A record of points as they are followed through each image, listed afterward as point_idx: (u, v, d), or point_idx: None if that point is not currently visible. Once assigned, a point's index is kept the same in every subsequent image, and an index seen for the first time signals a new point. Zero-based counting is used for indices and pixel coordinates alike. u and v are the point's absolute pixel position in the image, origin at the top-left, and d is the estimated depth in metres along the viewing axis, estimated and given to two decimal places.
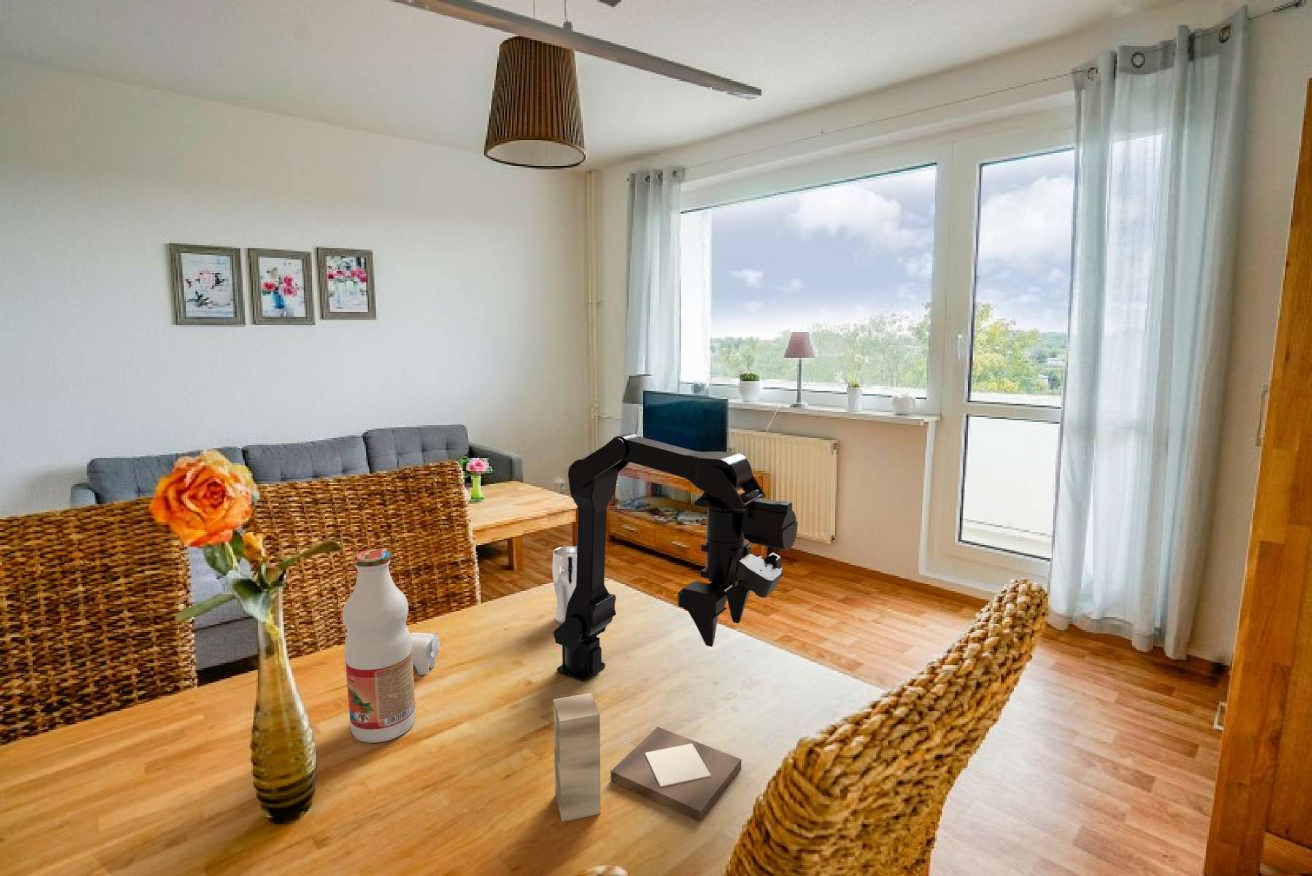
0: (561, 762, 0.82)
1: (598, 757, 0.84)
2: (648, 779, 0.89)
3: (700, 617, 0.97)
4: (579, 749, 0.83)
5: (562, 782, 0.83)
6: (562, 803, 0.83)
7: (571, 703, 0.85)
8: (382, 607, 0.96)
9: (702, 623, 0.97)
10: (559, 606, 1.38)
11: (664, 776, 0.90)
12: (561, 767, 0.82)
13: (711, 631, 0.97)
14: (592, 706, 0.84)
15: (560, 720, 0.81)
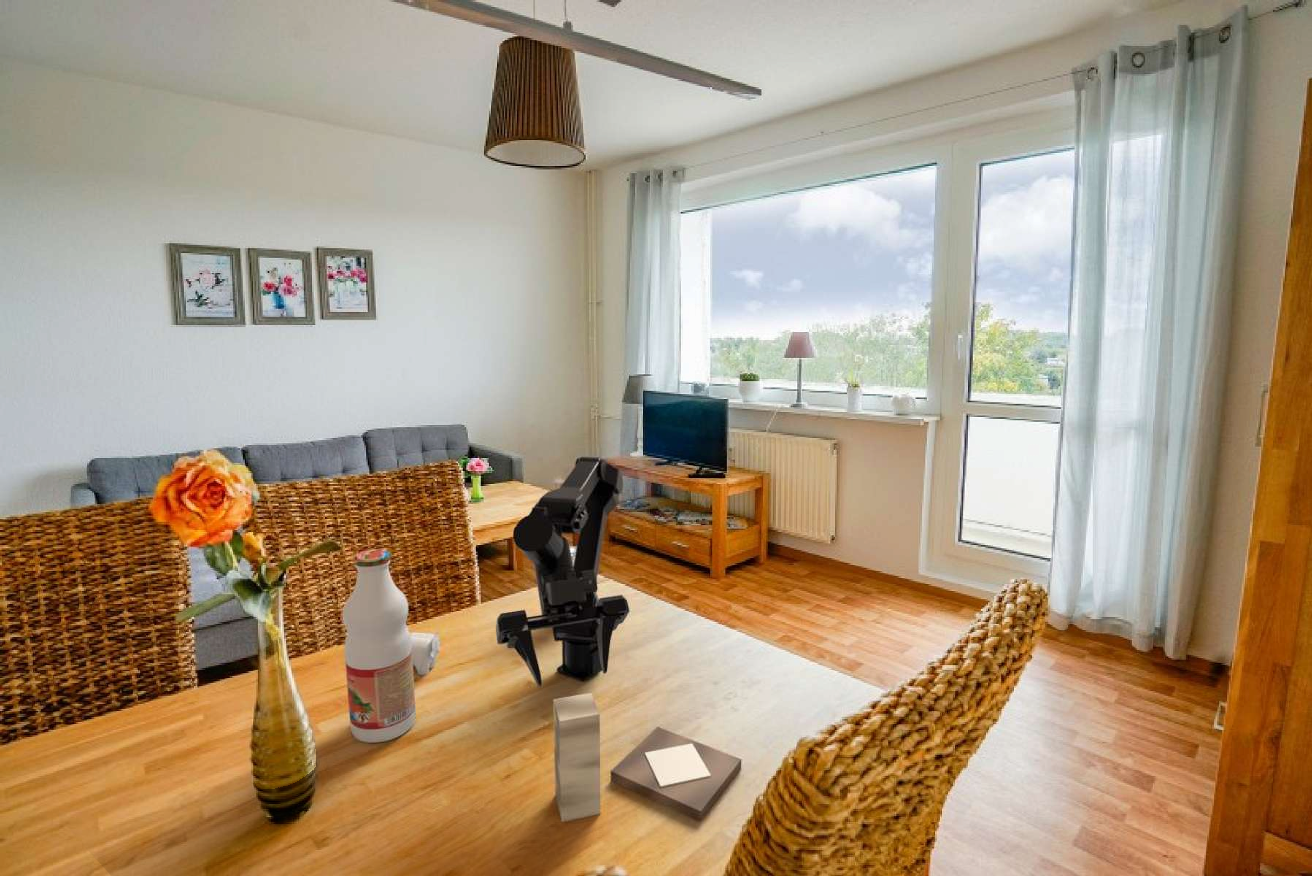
0: (561, 762, 0.82)
1: (598, 757, 0.84)
2: (648, 779, 0.89)
3: (525, 654, 0.93)
4: (579, 749, 0.83)
5: (562, 782, 0.83)
6: (562, 803, 0.83)
7: (571, 703, 0.85)
8: (382, 607, 0.96)
9: (527, 659, 0.92)
10: None
11: (664, 776, 0.90)
12: (561, 767, 0.82)
13: (529, 663, 0.91)
14: (592, 706, 0.84)
15: (560, 720, 0.81)
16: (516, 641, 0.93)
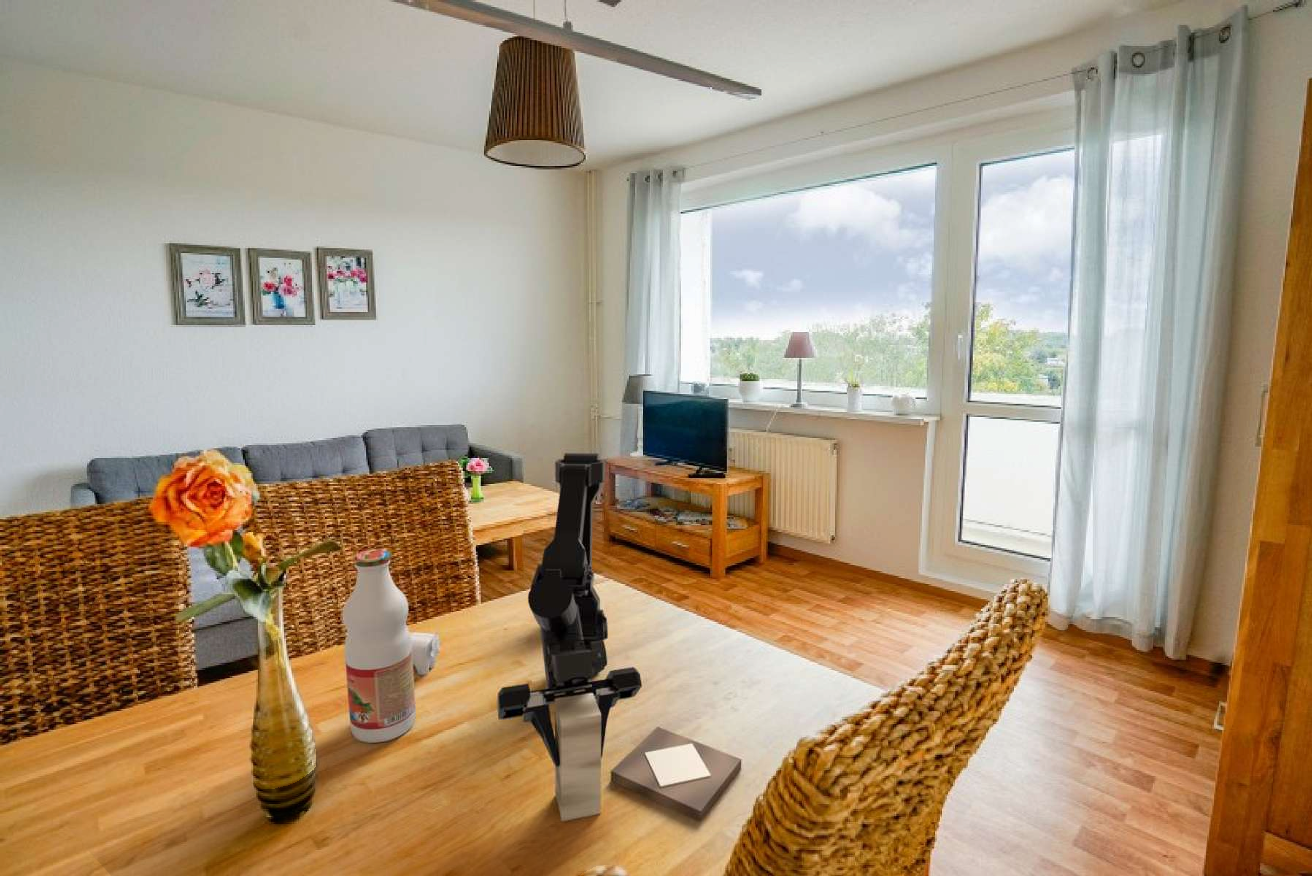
0: (562, 762, 0.82)
1: (599, 757, 0.84)
2: (648, 779, 0.89)
3: (542, 729, 0.86)
4: (580, 749, 0.83)
5: (563, 782, 0.83)
6: (562, 803, 0.83)
7: (573, 703, 0.85)
8: (382, 607, 0.96)
9: (543, 736, 0.85)
10: None
11: (664, 776, 0.90)
12: (562, 767, 0.82)
13: (546, 741, 0.84)
14: (594, 706, 0.84)
15: (561, 720, 0.81)
16: (533, 716, 0.86)
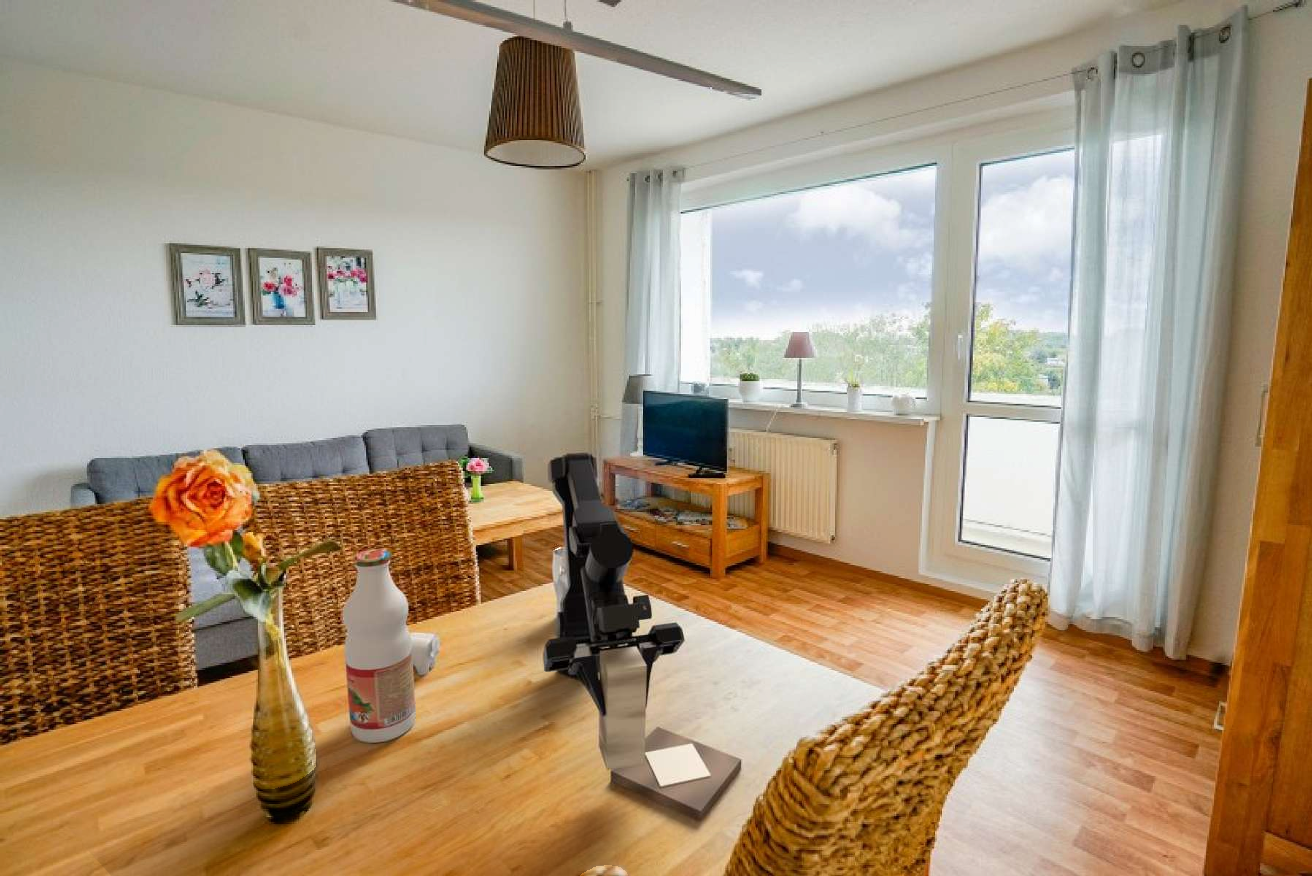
0: (608, 711, 0.84)
1: (644, 708, 0.85)
2: (648, 779, 0.89)
3: (588, 681, 0.88)
4: (626, 699, 0.84)
5: (608, 731, 0.84)
6: (608, 751, 0.85)
7: (618, 655, 0.86)
8: (382, 607, 0.96)
9: (590, 687, 0.87)
10: (559, 606, 1.38)
11: (664, 776, 0.90)
12: (608, 716, 0.84)
13: (593, 691, 0.86)
14: (639, 658, 0.86)
15: (608, 670, 0.83)
16: (579, 667, 0.88)
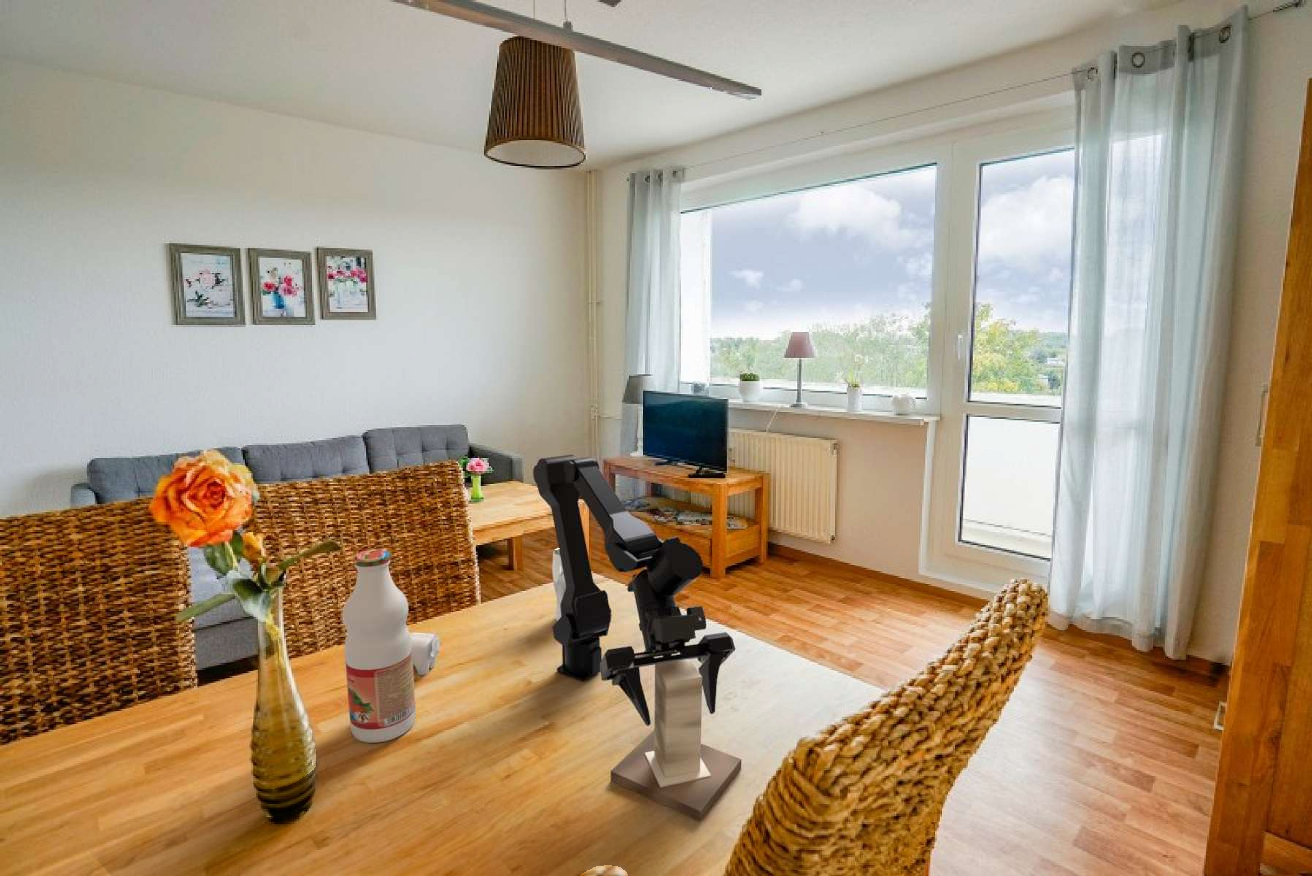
0: (667, 721, 0.88)
1: (699, 717, 0.89)
2: (648, 779, 0.89)
3: (631, 691, 0.91)
4: (683, 709, 0.88)
5: (667, 740, 0.88)
6: (666, 760, 0.89)
7: (673, 667, 0.91)
8: (382, 607, 0.96)
9: (633, 698, 0.90)
10: (559, 606, 1.38)
11: (664, 776, 0.90)
12: (666, 726, 0.88)
13: (638, 701, 0.89)
14: (693, 670, 0.90)
15: (667, 682, 0.87)
16: (622, 678, 0.91)
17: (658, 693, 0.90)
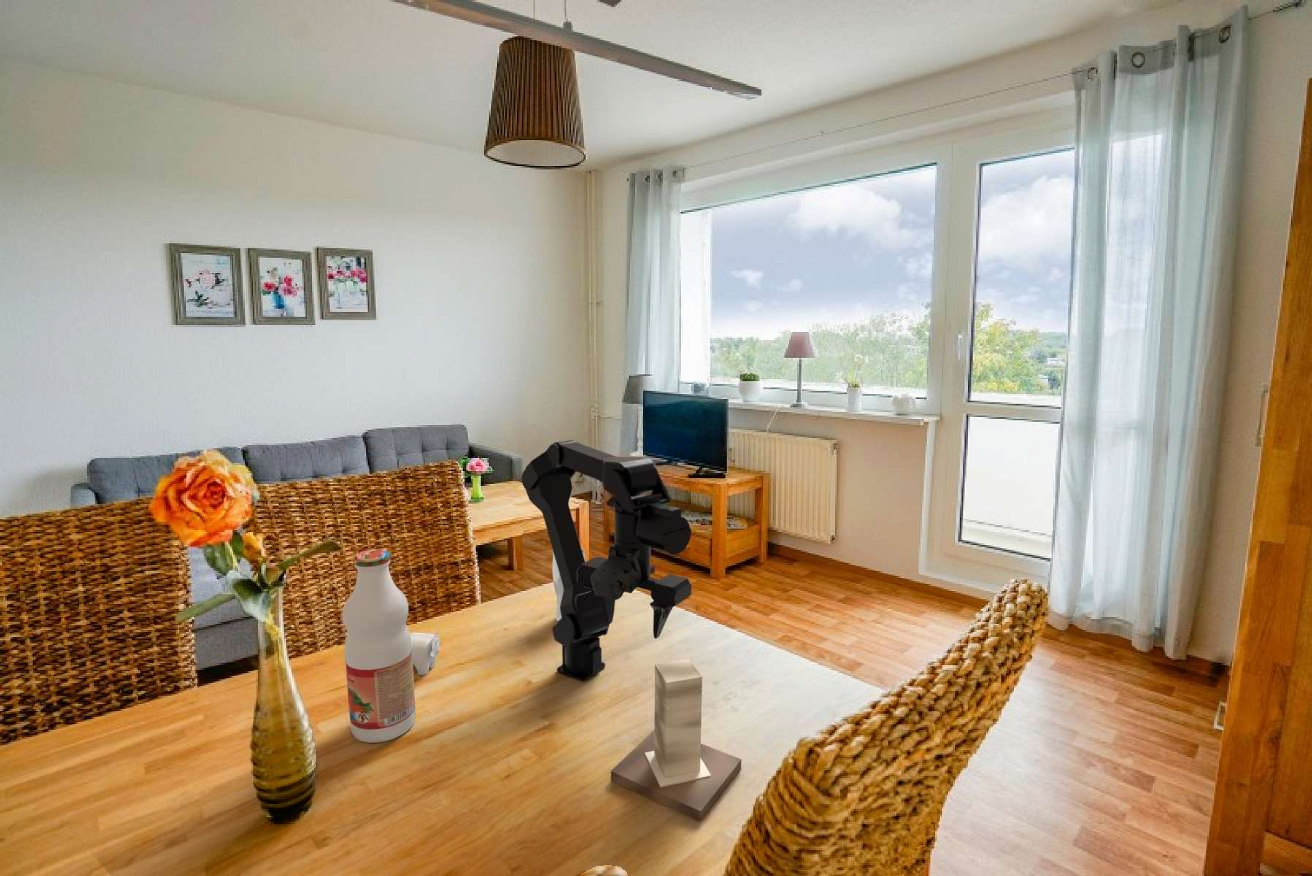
0: (666, 721, 0.88)
1: (699, 717, 0.89)
2: (648, 779, 0.89)
3: None
4: (683, 709, 0.88)
5: (667, 740, 0.88)
6: (666, 760, 0.89)
7: (673, 667, 0.90)
8: (382, 607, 0.96)
9: None
10: (559, 606, 1.38)
11: (664, 776, 0.90)
12: (666, 726, 0.88)
13: (601, 606, 1.09)
14: (693, 670, 0.90)
15: (666, 682, 0.87)
16: None
17: (658, 693, 0.90)
